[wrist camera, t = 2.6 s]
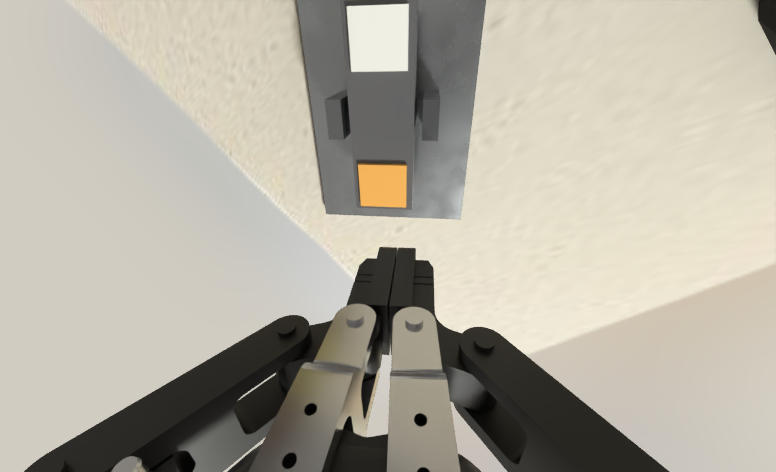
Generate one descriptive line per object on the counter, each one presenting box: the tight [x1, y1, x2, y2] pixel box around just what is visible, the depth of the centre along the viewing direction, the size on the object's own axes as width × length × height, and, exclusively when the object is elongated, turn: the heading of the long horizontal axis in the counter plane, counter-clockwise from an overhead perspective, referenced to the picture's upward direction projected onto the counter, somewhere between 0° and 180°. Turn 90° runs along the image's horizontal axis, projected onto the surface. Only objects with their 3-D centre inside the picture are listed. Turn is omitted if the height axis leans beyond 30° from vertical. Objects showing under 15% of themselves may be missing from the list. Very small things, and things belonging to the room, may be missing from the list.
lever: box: [340, 0, 418, 210], centre depth 20 cm, size 12×4×2 cm, turn 1°
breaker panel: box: [297, 0, 486, 220], centre depth 21 cm, size 18×12×5 cm, turn 1°
